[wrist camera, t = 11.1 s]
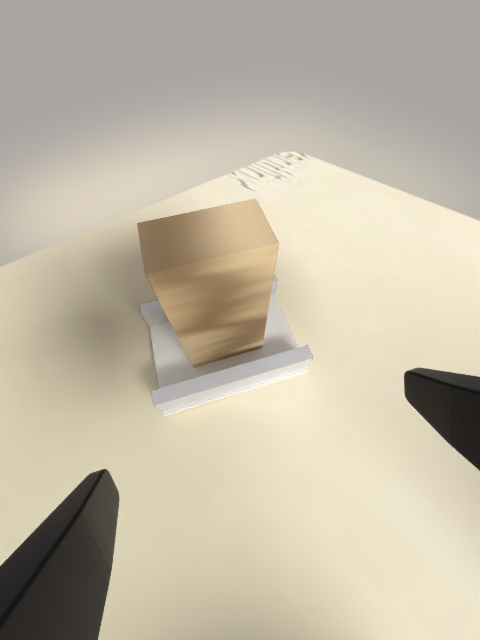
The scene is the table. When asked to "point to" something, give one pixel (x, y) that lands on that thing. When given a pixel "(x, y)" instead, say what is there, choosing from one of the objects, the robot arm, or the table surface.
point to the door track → (220, 362)
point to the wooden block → (213, 277)
